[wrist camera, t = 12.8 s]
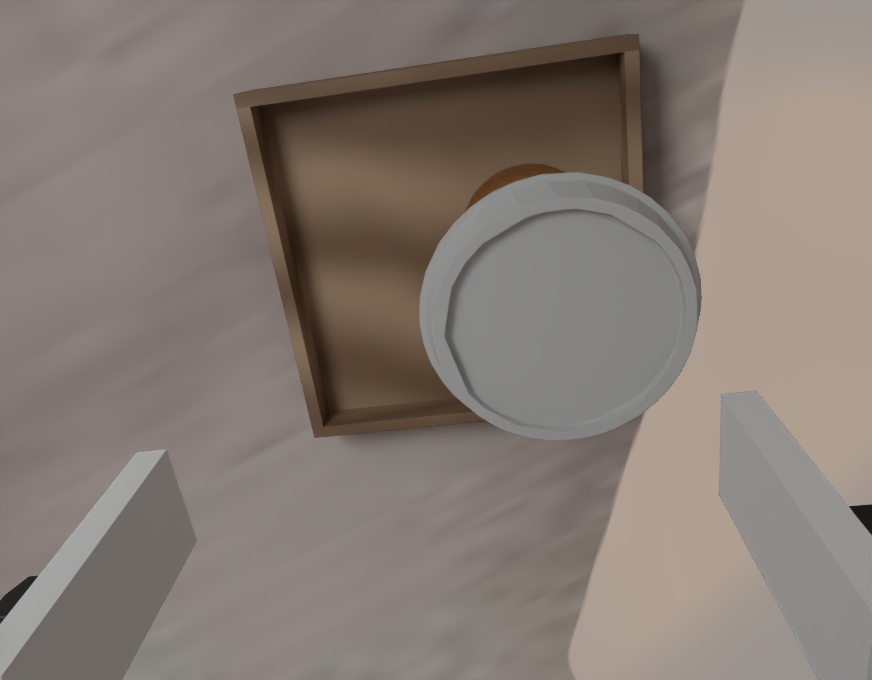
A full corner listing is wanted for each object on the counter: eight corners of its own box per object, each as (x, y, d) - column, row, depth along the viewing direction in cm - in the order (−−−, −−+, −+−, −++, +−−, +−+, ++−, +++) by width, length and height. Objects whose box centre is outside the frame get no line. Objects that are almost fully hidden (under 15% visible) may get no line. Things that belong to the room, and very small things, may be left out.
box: (249, 90, 33) (233, 94, 31) (626, 34, 31) (638, 34, 29) (323, 414, 39) (314, 437, 37) (638, 382, 38) (648, 404, 36)
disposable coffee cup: (444, 112, 32) (440, 158, 21) (651, 143, 32) (754, 205, 21) (416, 307, 36) (400, 433, 25) (602, 333, 36) (667, 469, 25)
